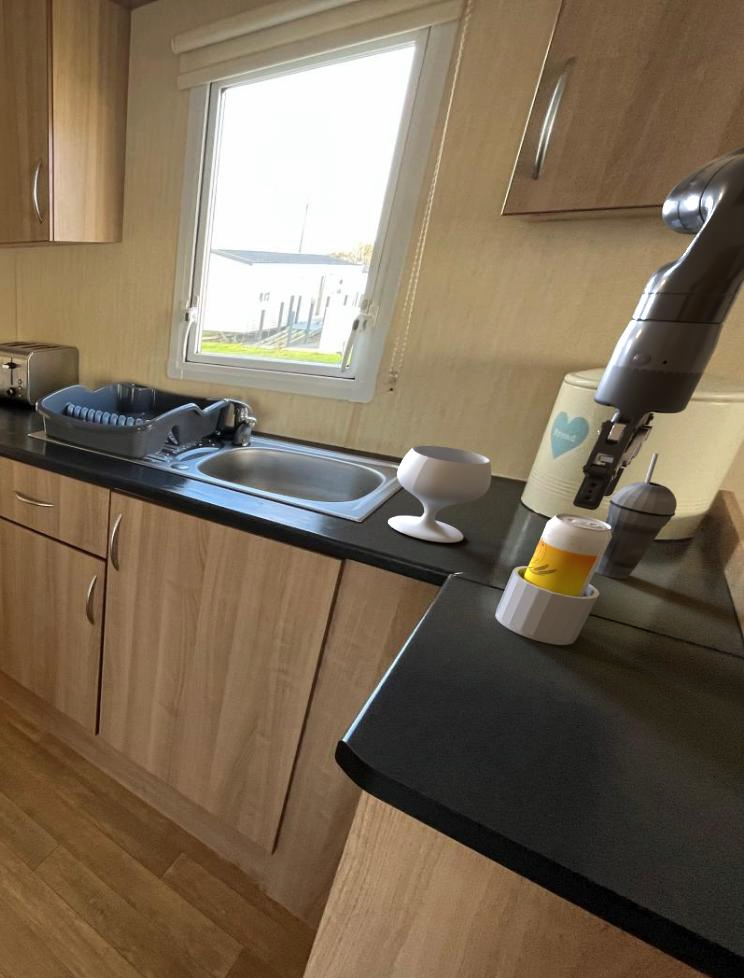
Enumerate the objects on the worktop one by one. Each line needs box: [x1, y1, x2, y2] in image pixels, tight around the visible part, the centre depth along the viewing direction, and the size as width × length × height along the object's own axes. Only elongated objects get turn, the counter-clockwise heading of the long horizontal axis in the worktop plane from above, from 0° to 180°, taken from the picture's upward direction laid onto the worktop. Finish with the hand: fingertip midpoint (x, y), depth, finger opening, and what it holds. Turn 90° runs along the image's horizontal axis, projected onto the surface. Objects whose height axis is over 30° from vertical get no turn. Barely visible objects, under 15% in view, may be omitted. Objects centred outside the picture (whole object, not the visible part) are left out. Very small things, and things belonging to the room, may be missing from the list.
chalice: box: [387, 445, 492, 543], centre depth 101 cm, size 14×14×15 cm
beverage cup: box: [594, 452, 678, 580], centre depth 86 cm, size 7×7×20 cm
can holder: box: [494, 565, 600, 646], centre depth 73 cm, size 9×9×7 cm
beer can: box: [523, 512, 612, 597], centre depth 71 cm, size 6×6×15 cm
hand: (592, 500), depth 67 cm, fingers open, 8 cm apart
